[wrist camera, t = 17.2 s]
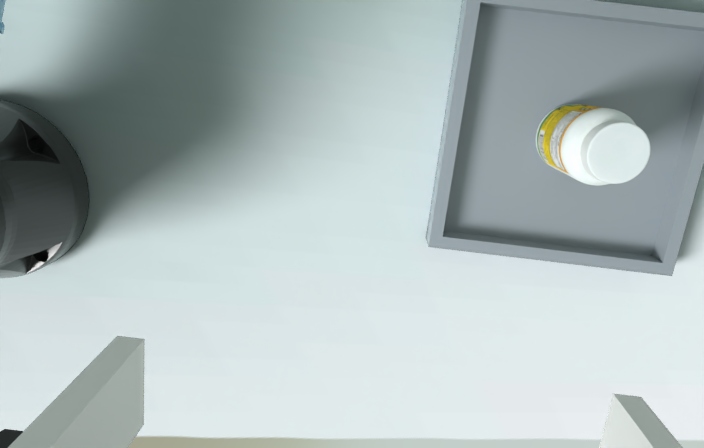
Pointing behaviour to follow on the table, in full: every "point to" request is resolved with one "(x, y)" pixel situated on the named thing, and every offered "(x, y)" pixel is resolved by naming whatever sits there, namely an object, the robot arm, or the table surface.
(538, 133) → the supplement bottle
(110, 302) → the table surface
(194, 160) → the table surface
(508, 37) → the slate tray
